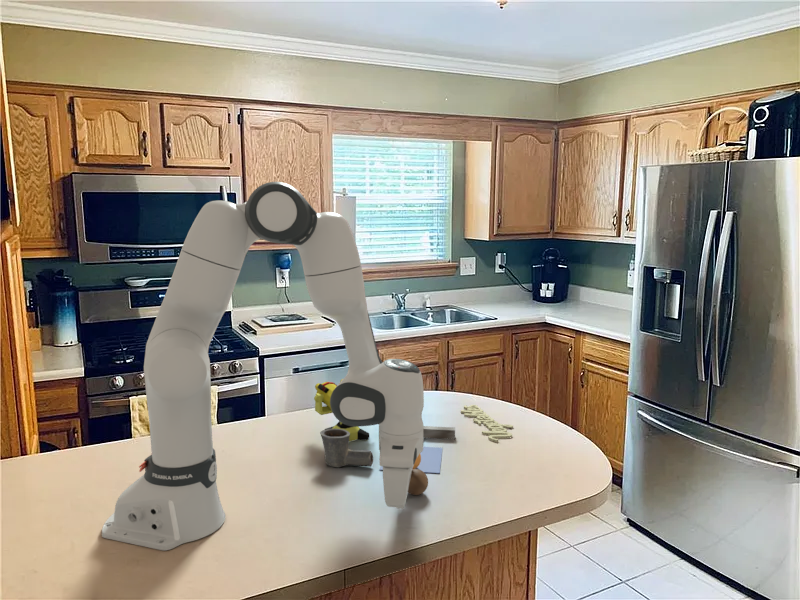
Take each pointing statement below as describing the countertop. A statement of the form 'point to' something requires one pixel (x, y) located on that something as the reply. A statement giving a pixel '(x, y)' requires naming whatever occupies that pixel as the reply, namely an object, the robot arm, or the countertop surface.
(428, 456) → the blue mark
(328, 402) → the toy
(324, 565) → the countertop surface
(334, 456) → the pipe
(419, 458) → the orange ball
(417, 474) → the walnut ball
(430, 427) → the rail
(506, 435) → the decorative sign
